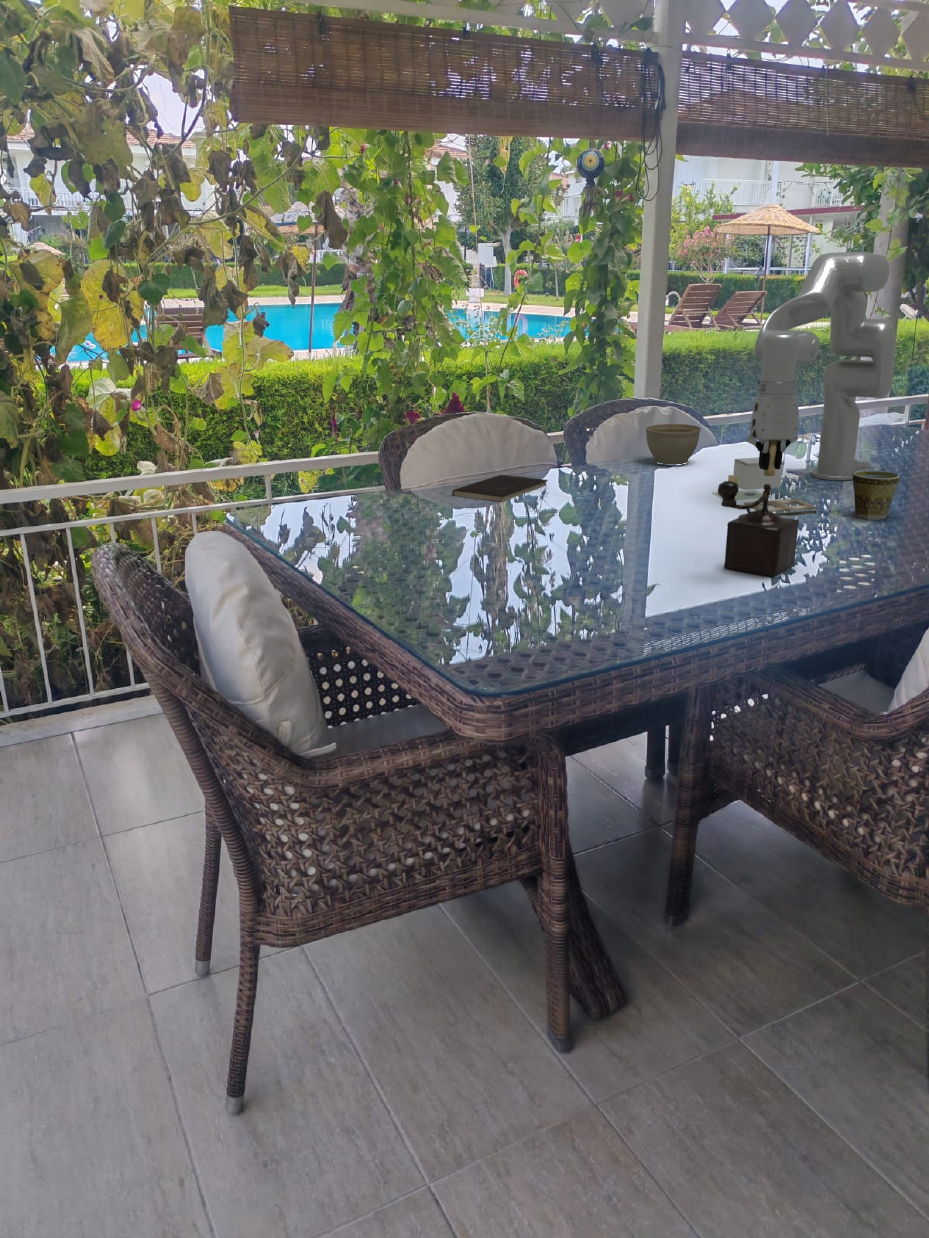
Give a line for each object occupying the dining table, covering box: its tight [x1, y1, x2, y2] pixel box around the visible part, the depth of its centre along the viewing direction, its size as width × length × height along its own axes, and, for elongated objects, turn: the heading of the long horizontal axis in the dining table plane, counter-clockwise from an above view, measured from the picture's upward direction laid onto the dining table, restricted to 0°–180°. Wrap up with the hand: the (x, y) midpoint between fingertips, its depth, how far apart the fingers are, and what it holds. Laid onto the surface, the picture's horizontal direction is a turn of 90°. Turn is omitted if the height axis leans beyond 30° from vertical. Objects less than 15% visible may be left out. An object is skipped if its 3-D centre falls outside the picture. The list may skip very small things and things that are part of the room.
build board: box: [743, 498, 817, 517], centre depth 227 cm, size 14×9×2 cm, turn 102°
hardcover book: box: [451, 474, 548, 503], centre depth 255 cm, size 16×23×2 cm
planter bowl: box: [645, 423, 702, 464], centre depth 285 cm, size 16×16×11 cm
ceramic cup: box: [852, 469, 900, 521], centre depth 220 cm, size 13×10×10 cm
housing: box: [733, 457, 784, 491], centre depth 248 cm, size 10×7×8 cm
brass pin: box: [764, 440, 778, 476], centre depth 221 cm, size 2×2×9 cm
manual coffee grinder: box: [717, 480, 800, 578], centre depth 180 cm, size 16×11×18 cm
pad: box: [711, 474, 772, 501], centre depth 238 cm, size 12×9×6 cm
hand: (769, 468), depth 222 cm, fingers closed on brass pin, 2 cm apart
